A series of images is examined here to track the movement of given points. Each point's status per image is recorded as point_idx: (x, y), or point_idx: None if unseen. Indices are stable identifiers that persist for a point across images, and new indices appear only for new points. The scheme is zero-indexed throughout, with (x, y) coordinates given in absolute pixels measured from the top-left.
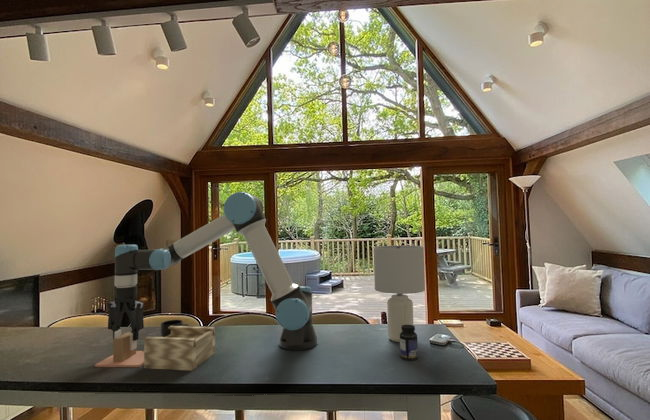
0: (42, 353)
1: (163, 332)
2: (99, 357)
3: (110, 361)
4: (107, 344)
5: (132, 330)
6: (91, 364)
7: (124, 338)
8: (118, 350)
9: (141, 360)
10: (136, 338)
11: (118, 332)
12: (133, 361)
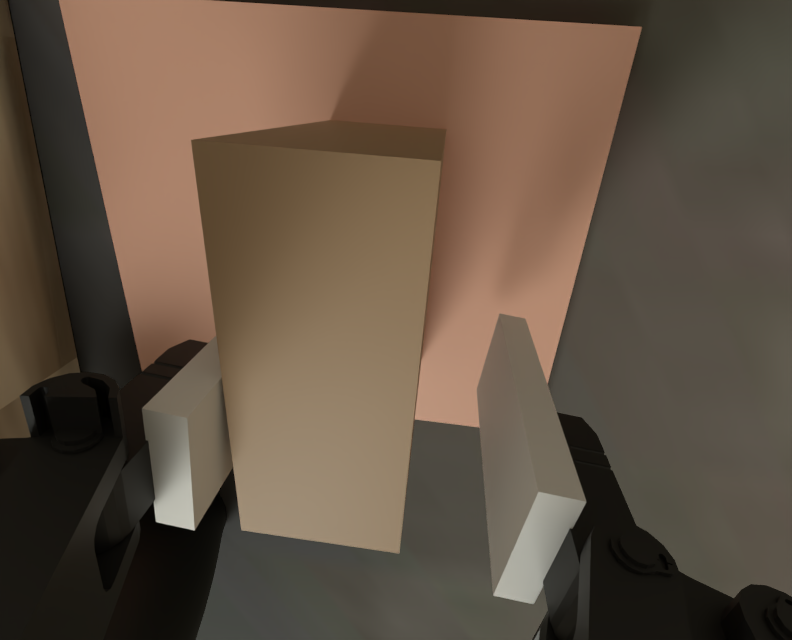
0: None
1: None
2: (695, 332)
3: (484, 137)
4: None
5: (97, 440)
6: (710, 122)
7: (202, 205)
8: (356, 131)
9: (140, 146)
10: (163, 364)
11: (513, 510)
12: (207, 118)
